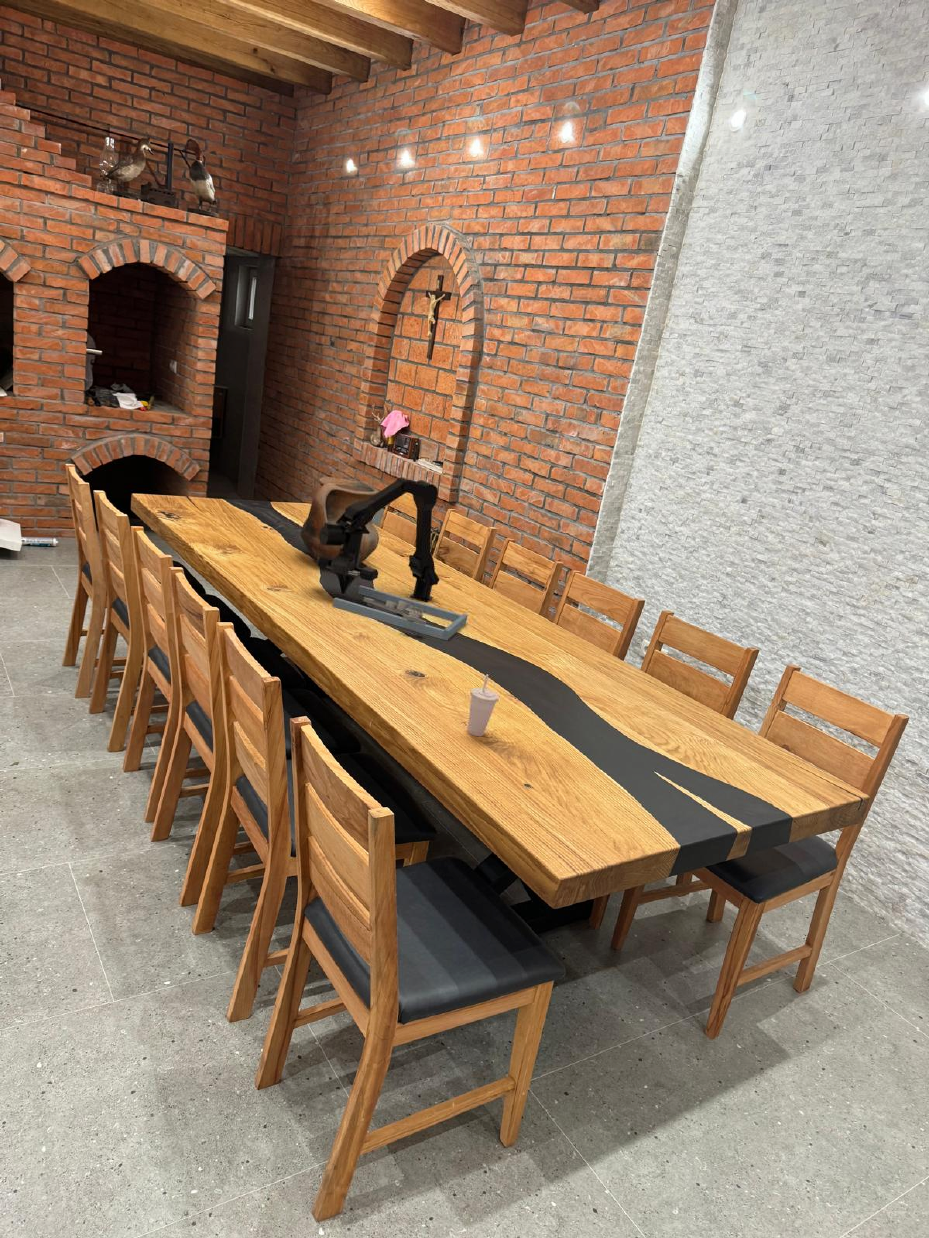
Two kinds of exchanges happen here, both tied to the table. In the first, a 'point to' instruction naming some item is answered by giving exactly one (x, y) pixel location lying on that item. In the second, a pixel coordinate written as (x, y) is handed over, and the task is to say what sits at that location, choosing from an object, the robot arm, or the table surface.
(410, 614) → the pulley system
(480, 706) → the smoothie
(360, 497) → the jug
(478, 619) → the table surface
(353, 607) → the track
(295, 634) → the table surface
